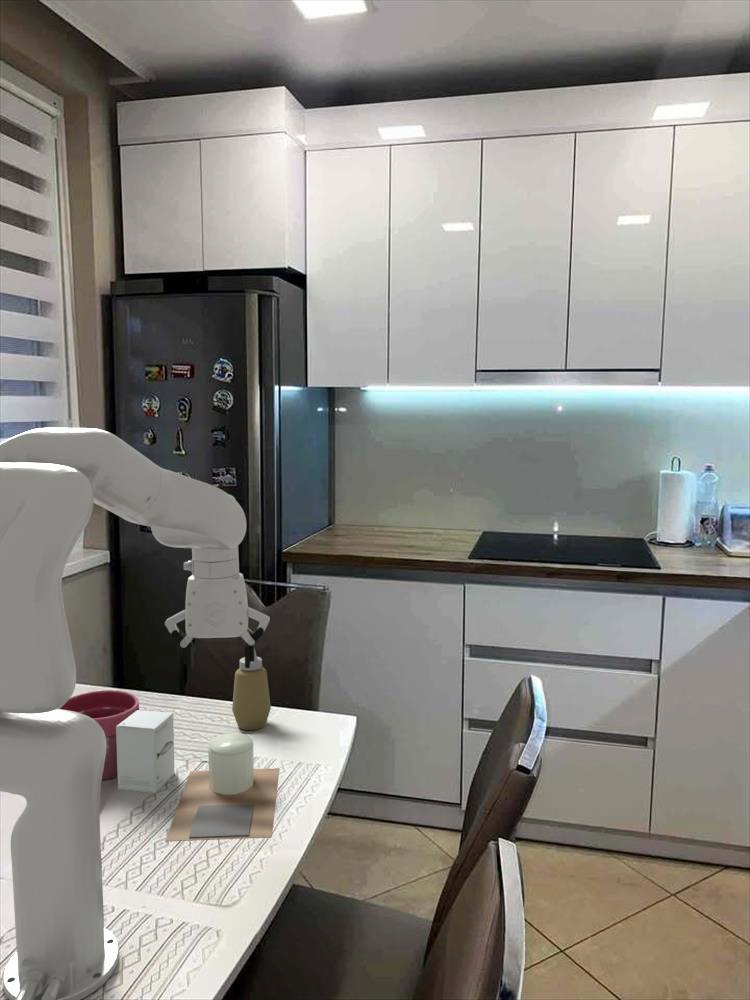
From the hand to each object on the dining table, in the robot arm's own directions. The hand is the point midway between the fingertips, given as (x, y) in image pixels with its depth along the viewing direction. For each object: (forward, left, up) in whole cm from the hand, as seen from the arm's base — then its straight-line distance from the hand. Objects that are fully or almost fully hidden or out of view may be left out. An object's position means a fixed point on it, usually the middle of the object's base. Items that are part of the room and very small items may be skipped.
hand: (219, 666), depth 125 cm
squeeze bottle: (+28, -2, -23) cm, 37 cm away
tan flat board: (-5, -2, -23) cm, 23 cm away
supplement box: (+3, +14, -23) cm, 27 cm away
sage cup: (+1, -1, -22) cm, 22 cm away
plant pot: (+10, +23, -23) cm, 35 cm away
